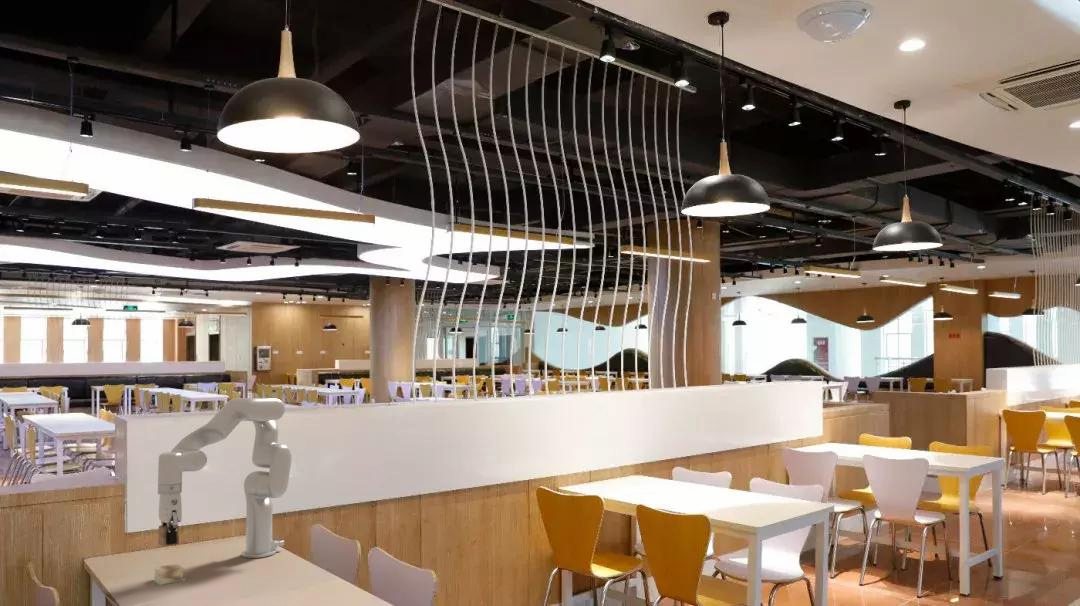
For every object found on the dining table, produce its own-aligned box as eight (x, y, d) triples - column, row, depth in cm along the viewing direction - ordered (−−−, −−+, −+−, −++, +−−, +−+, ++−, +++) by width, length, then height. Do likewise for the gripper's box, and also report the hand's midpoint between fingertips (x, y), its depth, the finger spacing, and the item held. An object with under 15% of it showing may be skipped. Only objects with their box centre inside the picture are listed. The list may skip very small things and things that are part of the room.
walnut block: (173, 541, 270) (174, 523, 270) (178, 543, 266) (178, 526, 266) (158, 543, 266) (158, 525, 267) (163, 546, 262) (163, 528, 263)
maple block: (176, 575, 271) (176, 563, 271) (182, 579, 265) (183, 567, 266) (154, 579, 266) (154, 567, 266) (161, 583, 261) (161, 571, 261)
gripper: (189, 490, 263) (188, 545, 262) (173, 484, 276) (172, 536, 275) (166, 493, 258) (164, 548, 257) (150, 486, 271) (149, 539, 270)
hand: (168, 541), depth 266 cm, fingers closed on walnut block, 4 cm apart
